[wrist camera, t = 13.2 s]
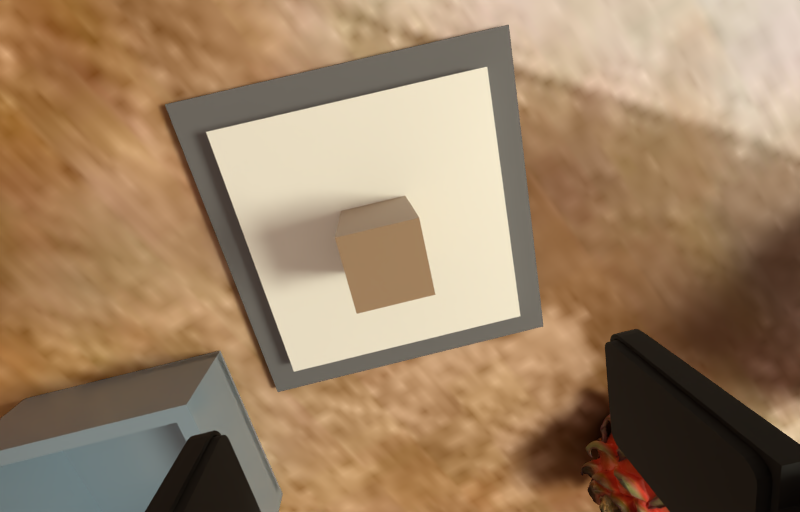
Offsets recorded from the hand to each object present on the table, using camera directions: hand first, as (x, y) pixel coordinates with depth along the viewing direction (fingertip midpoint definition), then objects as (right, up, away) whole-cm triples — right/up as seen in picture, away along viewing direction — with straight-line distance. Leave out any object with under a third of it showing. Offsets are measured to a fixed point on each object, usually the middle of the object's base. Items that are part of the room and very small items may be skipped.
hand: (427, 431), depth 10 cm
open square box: (-19, -10, +21) cm, 30 cm away
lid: (-2, +6, +16) cm, 17 cm away
